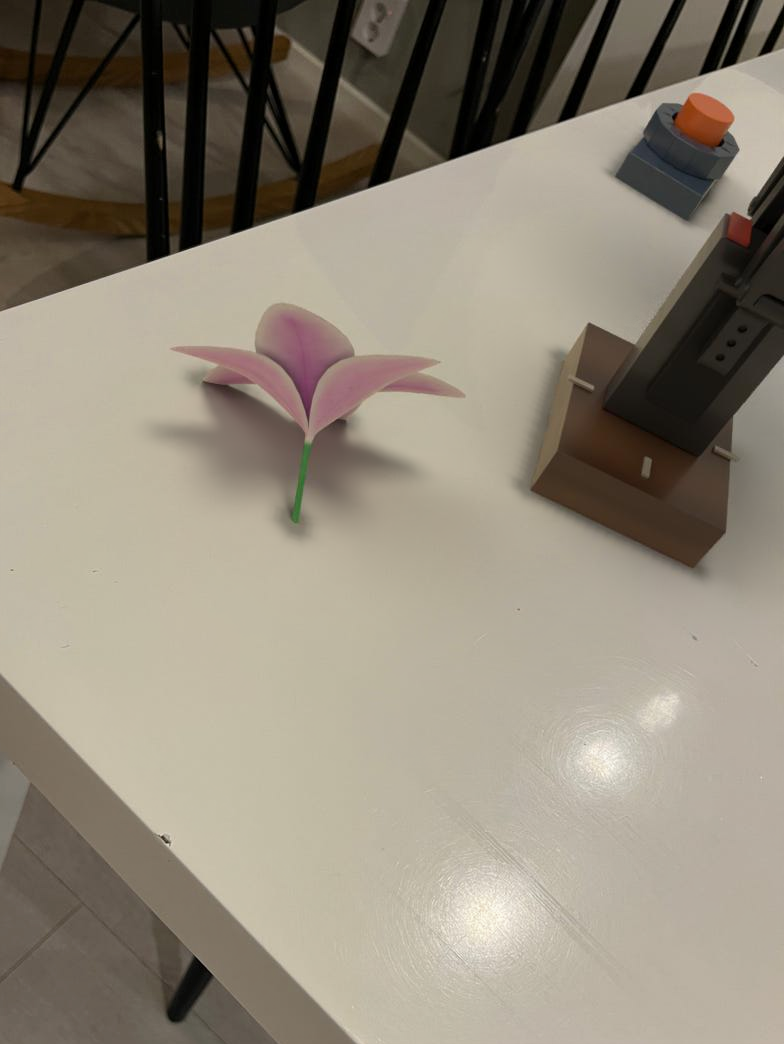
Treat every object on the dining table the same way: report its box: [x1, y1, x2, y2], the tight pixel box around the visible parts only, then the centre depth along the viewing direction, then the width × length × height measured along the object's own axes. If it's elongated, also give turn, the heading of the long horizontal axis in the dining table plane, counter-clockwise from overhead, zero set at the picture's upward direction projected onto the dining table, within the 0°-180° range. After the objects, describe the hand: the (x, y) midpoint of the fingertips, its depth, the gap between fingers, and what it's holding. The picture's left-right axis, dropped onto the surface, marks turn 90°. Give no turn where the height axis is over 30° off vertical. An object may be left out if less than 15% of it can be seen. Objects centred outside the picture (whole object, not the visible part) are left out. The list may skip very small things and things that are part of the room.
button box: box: [614, 102, 741, 222], centre depth 79 cm, size 10×6×4 cm, turn 150°
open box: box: [603, 211, 784, 457], centre depth 51 cm, size 6×2×10 cm, turn 70°
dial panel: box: [530, 321, 740, 569], centre depth 56 cm, size 12×10×3 cm
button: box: [674, 92, 735, 147], centre depth 77 cm, size 4×4×2 cm
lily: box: [169, 302, 467, 524], centre depth 46 cm, size 12×12×10 cm
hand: (674, 389), depth 54 cm, fingers closed on open box, 3 cm apart
